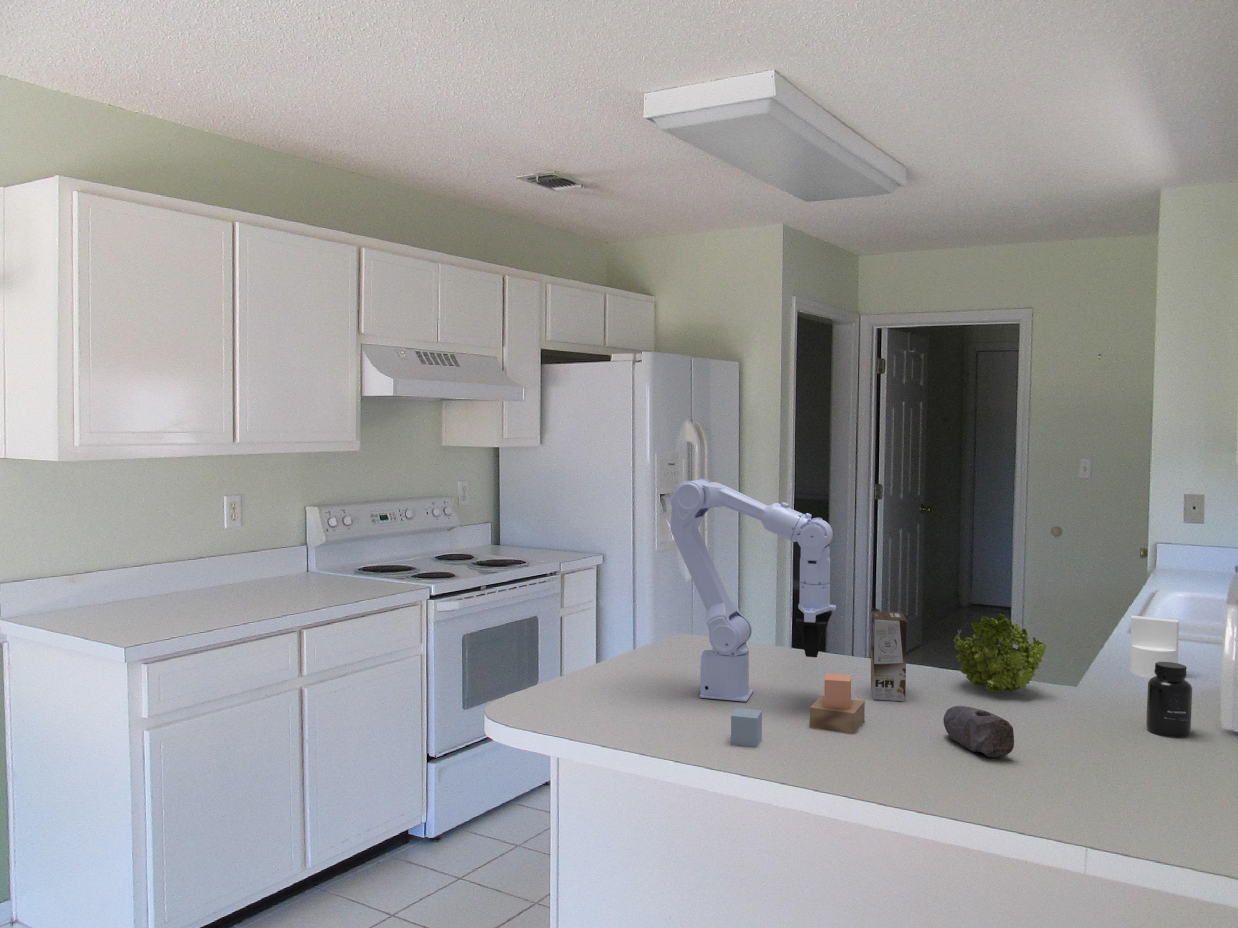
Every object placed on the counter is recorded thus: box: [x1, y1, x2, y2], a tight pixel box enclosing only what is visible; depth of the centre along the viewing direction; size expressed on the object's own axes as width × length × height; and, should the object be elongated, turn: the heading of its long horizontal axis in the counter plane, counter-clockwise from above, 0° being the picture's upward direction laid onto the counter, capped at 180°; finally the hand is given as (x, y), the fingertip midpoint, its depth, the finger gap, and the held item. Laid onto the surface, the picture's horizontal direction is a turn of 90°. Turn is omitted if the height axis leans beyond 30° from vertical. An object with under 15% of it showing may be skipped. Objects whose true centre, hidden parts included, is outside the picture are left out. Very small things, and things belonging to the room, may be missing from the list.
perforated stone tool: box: [942, 705, 1015, 758], centre depth 160 cm, size 15×5×7 cm, turn 17°
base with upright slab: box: [1129, 615, 1180, 679], centre depth 206 cm, size 9×9×12 cm
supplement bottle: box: [1145, 662, 1193, 738], centre depth 168 cm, size 7×7×12 cm
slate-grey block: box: [730, 707, 763, 748], centre depth 164 cm, size 4×4×5 cm
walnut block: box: [809, 695, 866, 735], centre depth 173 cm, size 8×8×4 cm
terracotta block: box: [823, 672, 852, 709], centre depth 173 cm, size 4×4×5 cm
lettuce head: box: [953, 613, 1047, 694], centre depth 194 cm, size 18×16×16 cm
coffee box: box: [870, 610, 908, 702], centre depth 191 cm, size 9×6×16 cm
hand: (814, 651), depth 184 cm, fingers open, 7 cm apart
